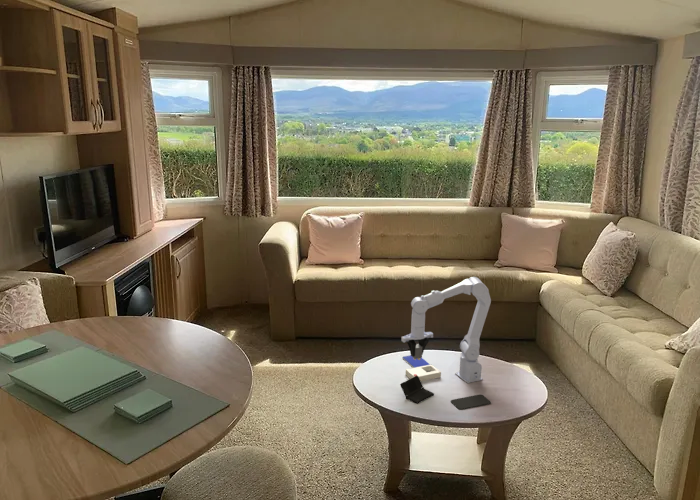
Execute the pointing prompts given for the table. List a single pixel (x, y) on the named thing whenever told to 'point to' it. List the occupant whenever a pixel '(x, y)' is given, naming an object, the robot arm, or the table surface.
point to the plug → (418, 352)
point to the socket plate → (424, 372)
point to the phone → (470, 402)
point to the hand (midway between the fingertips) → (416, 354)
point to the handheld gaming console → (415, 390)
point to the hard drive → (415, 361)
